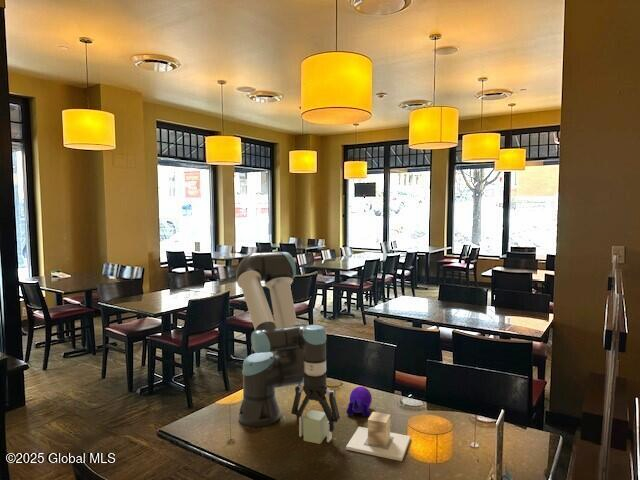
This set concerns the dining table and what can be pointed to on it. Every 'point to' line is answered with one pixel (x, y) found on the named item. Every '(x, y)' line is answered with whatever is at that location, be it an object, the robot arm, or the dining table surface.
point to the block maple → (379, 429)
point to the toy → (359, 401)
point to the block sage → (315, 426)
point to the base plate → (391, 451)
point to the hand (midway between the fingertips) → (315, 437)
